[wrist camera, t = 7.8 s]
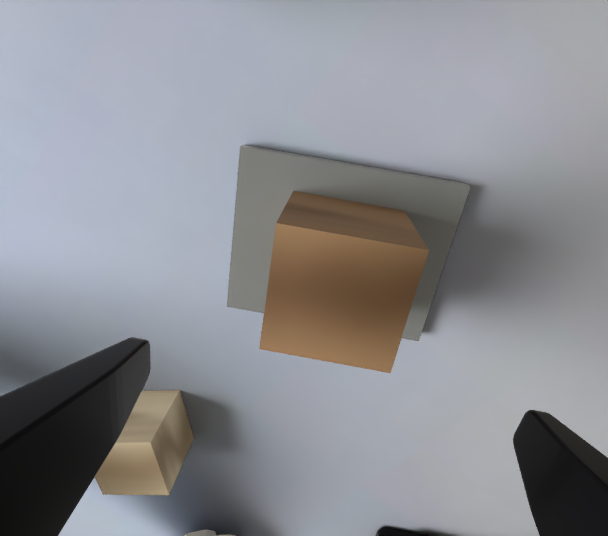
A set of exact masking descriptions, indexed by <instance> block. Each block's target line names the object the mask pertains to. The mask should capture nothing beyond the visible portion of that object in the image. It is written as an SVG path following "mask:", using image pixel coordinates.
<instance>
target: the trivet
mask: <svg viewBox="0 0 608 536" xmlns="http://www.w3.org/2000/svg"><path fill="white" fill-rule="evenodd" d="M470 188H471V186H469V185H467V184H466V183H462V182H456V181H451V180H445V179H439V178H433V177H428V176H422V175H416V174H410V173H405V172H399V171H393V170H387V169H382V168H376V167H370V166H364V165H359V164H353V163H347V162H341V161H336V160H330V159H324V158H318V157H313V156H307V155H301V154H295V153H290V152H284V151H278V150H272V149H267V148H261V147H255V146H249V145H243V146H240V155H239V167H238V179H237V191H236V203H235V215H234V227H233V239H232V251H231V263H230V275H229V288H228V300H227V307H233V308H238V309H244V310H249V311H255V312H260V313H264V311H265V303H266V295H267V288H268V280H269V273H270V265H271V258H272V250H273V242H274V235H275V227H276V222H277V220H278V218H279V217H280V215H281V213H282V211H283V209H284V207H285V205H286V204H287V202H288V200H289V198H290V196H291V194H292V192H293V191H297V192H303V193H308V194H314V195H320V196H325V197H331V198H337V199H342V200H348V201H354V202H359V203H365V204H371V205H376V206H382V207H388V208H393V209H399V210H404V211H405V212H406V214H407V215H408V217H409V219H410V220H411V222H412V224H413V225H414V227H415V228H416V230H417V232H418V233H419V235H420V236H421V238H422V240H423V241H424V243H425V245H426V246H427V248H428V249H429V252H428V255H427V258H426V262H425V265H424V268H423V271H422V274H421V277H420V281H419V284H418V287H417V290H416V293H415V296H414V300H413V303H412V306H411V309H410V312H409V315H408V319H407V322H406V325H405V328H404V331H403V334H402V338H404V339H409V340H415V341H419V339H420V336H421V333H422V330H423V327H424V324H425V321H426V318H427V315H428V312H429V309H430V306H431V303H432V300H433V297H434V294H435V291H436V288H437V285H438V282H439V279H440V276H441V273H442V270H443V267H444V265H445V262H446V259H447V256H448V253H449V250H450V247H451V244H452V241H453V238H454V235H455V232H456V229H457V226H458V223H459V220H460V217H461V214H462V211H463V208H464V205H465V202H466V199H467V196H468V193H469V190H470Z"/></svg>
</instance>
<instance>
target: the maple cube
mask: <svg viewBox="0 0 608 536" xmlns="http://www.w3.org/2000/svg"><path fill="white" fill-rule="evenodd" d="M193 440H194V437H193V433H192V430H191V426H190V423H189V420H188V416H187V413H186V409H185V406H184V403H183V399H182V396H181V392H180V390H161V391H141V393H140V395H139V397H138V399H137V402H136V404H135V406H134V408H133V410H132V412H131V414H130V416H129V418H128V420H127V422H126V424H125V426H124V428H123V430H122V432H121V434H120V436H119V438H118V439H117V441H116V443H115V445H114V446H113V448H112V449H111V451H110V453H109V454H108V456H107V458H106V459H105V461H104V462H103V464H102V466H101V467H100V469H99V470H98V472H97V474H96V475H95V478H96V480H97V483H98V485H99V487H100V489H101V491H102V494H110V495H169V494H170V492H171V490H172V487H173V485H174V483H175V481H176V478H177V476H178V474H179V471H180V469H181V467H182V465H183V462H184V460H185V458H186V456H187V453H188V451H189V449H190V446H191V444H192V442H193Z"/></svg>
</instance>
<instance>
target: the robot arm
mask: <svg viewBox="0 0 608 536" xmlns="http://www.w3.org/2000/svg"><path fill="white" fill-rule="evenodd" d="M149 373H150V343H149V341H147V340H145V339H139V338H133V337H132V338H128V339H126V340H124V341H122V342H119V343H117V344H115V345H113V346H111V347H108V348H106V349H104V350H102V351H100V352H97V353H95V354H93V355H91V356H88V357H86V358H84V359H82V360H80V361H77V362H75V363H73V364H71V365H69V366H66V367H64V368H62V369H60V370H58V371H55V372H53V373H51V374H49V375H47V376H44V377H42V378H40V379H38V380H35V381H33V382H31V383H29V384H27V385H24V386H22V387H20V388H18V389H16V390H13V391H11V392H9V393H7V394H5V395H2V396H0V536H58V535H59V533H60V531H61V530H62V528H63V527H64V525H65V523H66V522H67V520H68V519H69V517H70V515H71V514H72V512H73V511H74V509H75V507H76V506H77V504H78V503H79V501H80V499H81V498H82V496H83V494H84V493H85V491H86V490H87V488H88V486H89V485H90V483H91V482H92V480H93V478H94V477H95V475H96V474H97V472H98V470H99V469H100V467H101V466H102V464H103V462H104V461H105V459H106V458H107V456H108V454H109V453H110V451H111V449H112V448H113V446H114V445H115V443H116V441H117V439H118V438H119V436H120V434H121V432H122V430H123V428H124V426H125V424H126V422H127V420H128V418H129V416H130V414H131V412H132V410H133V408H134V406H135V404H136V402H137V399H138V397H139V395H140V393H141V391H142V389H143V387H144V385H145V383H146V381H147V379H148V376H149ZM513 444H514V449H515V452H516V456H517V460H518V464H519V468H520V471H521V475H522V479H523V483H524V487H525V490H526V494H527V498H528V502H529V505H530V509H531V512H532V515H533V518H534V521H535V524H536V527H537V529H538V532H539V535H540V536H608V458H607V457H606V456H605V455H603V454H602V453H601V452H599V451H598V450H597V449H595V448H594V447H593V446H591V445H590V444H589V443H587V442H586V441H585V440H583V439H582V438H581V437H579V436H578V435H577V434H576V433H574V432H573V431H572V430H570V429H569V428H568V427H566V426H565V425H564V424H562V423H561V422H560V421H558V420H557V419H556V418H554V417H553V416H552V415H550V414H549V413H546V412H541V411H536V410H529V411H527V412H526V413H525V415H524V417H523V419H522V421H521V422H520V424H519V426H518V428H517V430H516V432H515V434H514V438H513ZM376 536H423V535H418V534H413V533H407V532H402V531H397V530H391V529H386V528H382V529H379V530H378V531H377V533H376Z"/></svg>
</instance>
